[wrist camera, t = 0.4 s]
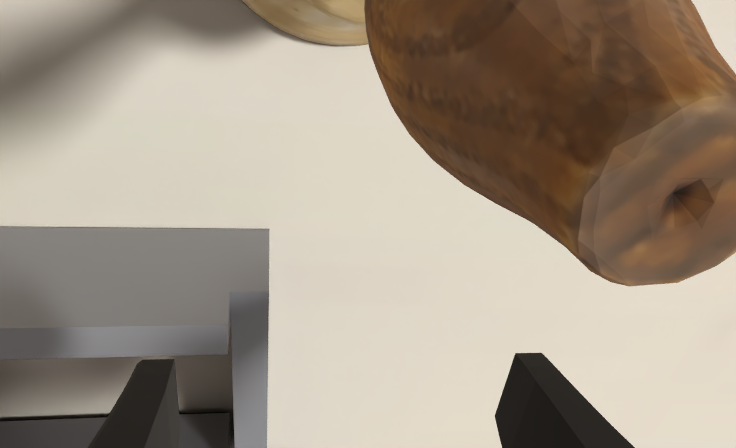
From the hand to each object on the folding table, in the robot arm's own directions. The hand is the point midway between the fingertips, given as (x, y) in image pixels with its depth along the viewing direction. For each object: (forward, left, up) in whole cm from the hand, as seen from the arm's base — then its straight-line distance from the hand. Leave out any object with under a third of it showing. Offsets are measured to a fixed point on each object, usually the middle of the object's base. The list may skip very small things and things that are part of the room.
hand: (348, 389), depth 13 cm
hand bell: (+9, 0, -10) cm, 13 cm away
